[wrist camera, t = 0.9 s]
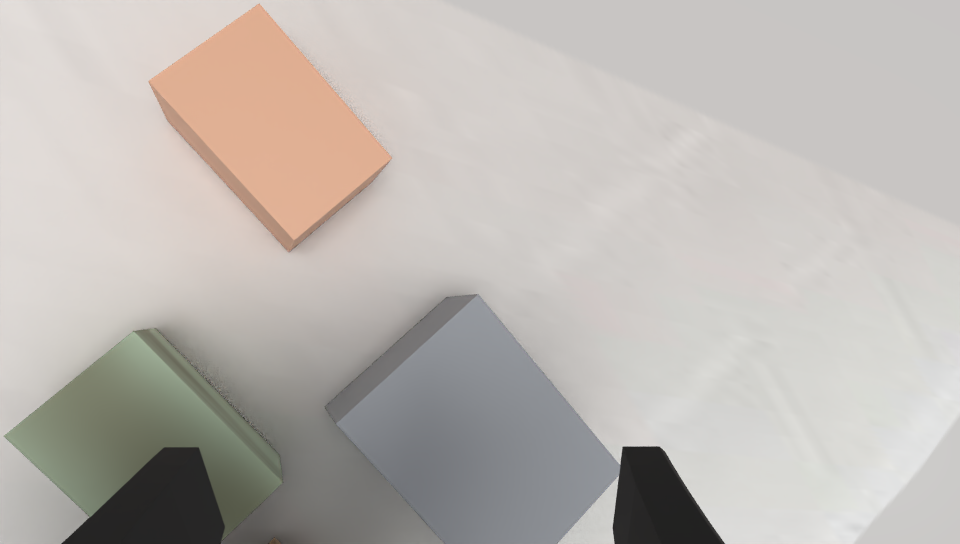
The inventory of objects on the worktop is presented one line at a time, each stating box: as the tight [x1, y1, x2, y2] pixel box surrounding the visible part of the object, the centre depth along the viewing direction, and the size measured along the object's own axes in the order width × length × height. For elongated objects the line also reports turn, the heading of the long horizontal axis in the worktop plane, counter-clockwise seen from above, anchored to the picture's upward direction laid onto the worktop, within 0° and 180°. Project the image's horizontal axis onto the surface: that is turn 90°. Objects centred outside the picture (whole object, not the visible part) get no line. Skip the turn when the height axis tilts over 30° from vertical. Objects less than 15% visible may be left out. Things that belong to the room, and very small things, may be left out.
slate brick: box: [325, 294, 620, 544], centre depth 23 cm, size 6×8×4 cm
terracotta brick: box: [148, 4, 392, 252], centre depth 22 cm, size 4×6×4 cm, turn 43°
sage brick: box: [4, 328, 283, 541], centre depth 20 cm, size 4×6×4 cm, turn 42°
